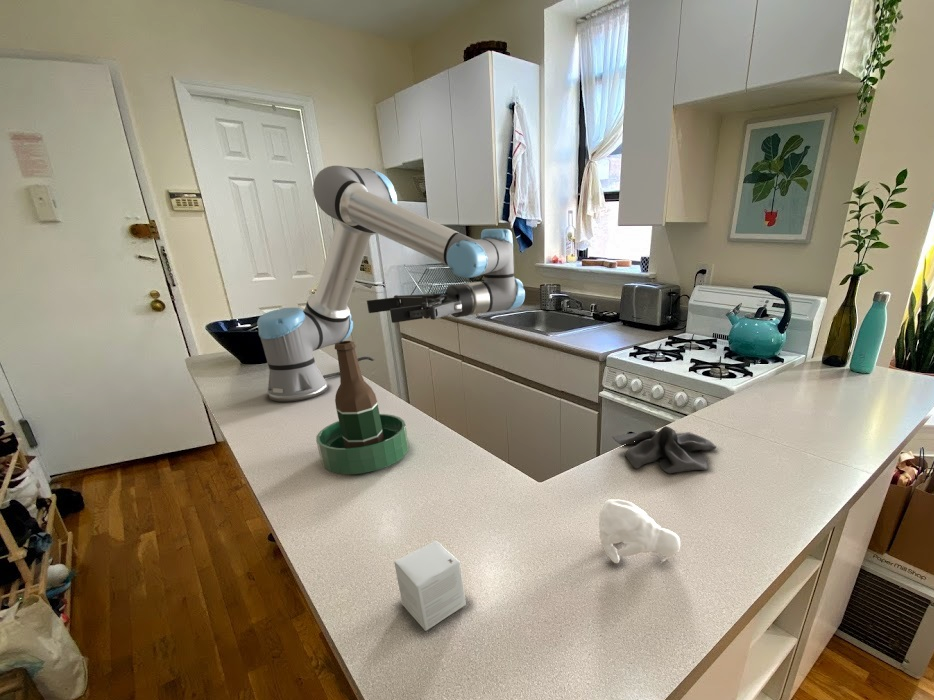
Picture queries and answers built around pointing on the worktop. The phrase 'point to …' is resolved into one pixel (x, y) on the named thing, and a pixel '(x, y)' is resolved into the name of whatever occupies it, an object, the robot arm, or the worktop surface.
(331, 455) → the green bowl
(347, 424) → the beer bottle
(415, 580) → the product box
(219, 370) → the worktop surface
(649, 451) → the cloth
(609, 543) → the white irregular figure
